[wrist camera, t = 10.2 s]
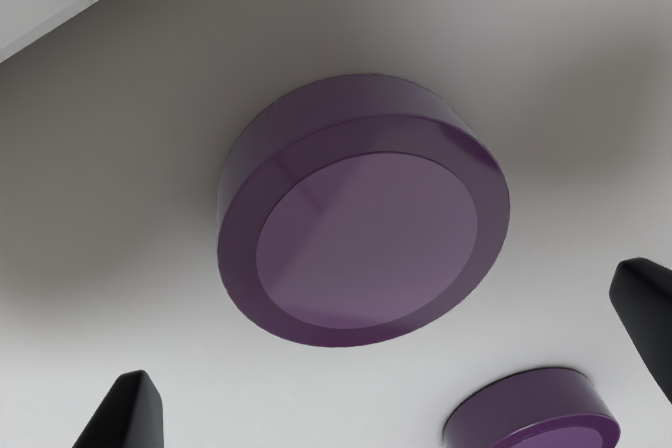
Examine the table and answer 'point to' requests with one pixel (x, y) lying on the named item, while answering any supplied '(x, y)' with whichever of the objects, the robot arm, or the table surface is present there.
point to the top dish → (357, 212)
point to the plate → (33, 21)
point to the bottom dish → (534, 414)
